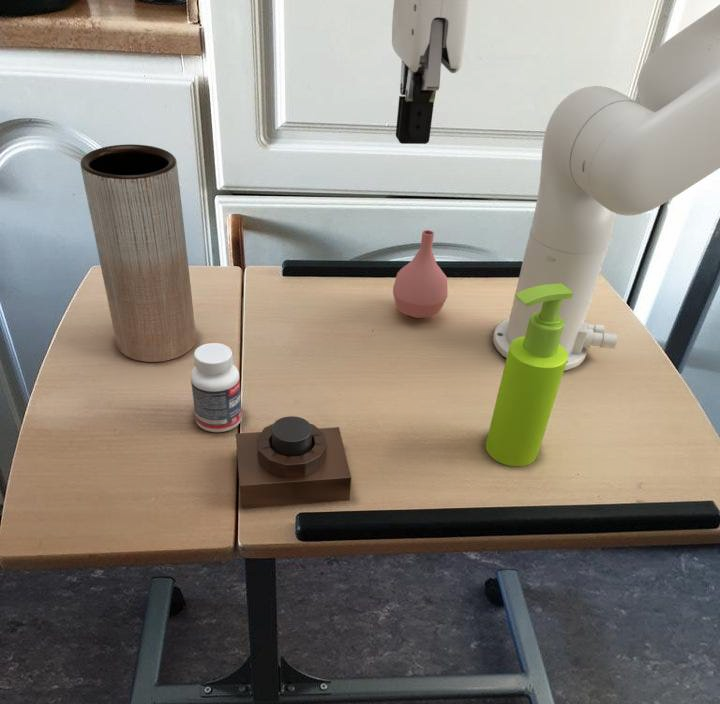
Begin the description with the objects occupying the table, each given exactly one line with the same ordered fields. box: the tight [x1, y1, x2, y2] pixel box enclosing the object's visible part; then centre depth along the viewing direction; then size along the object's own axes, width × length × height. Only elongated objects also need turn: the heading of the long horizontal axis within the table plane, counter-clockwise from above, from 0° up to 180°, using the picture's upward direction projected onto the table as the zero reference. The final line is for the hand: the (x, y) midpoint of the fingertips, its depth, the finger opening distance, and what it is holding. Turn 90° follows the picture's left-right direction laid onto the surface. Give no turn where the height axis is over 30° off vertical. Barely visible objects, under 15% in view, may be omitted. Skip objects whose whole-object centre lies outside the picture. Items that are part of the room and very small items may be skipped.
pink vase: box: [392, 229, 449, 319], centre depth 96 cm, size 8×8×12 cm
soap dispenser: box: [485, 284, 573, 467], centre depth 73 cm, size 6×7×20 cm
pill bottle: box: [190, 342, 243, 433], centre depth 77 cm, size 5×5×9 cm
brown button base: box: [235, 423, 352, 509], centre depth 72 cm, size 11×8×5 cm
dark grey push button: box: [272, 415, 312, 457], centre depth 70 cm, size 4×4×2 cm
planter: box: [79, 143, 197, 363], centre depth 83 cm, size 10×10×23 cm
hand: (412, 140), depth 73 cm, fingers closed
